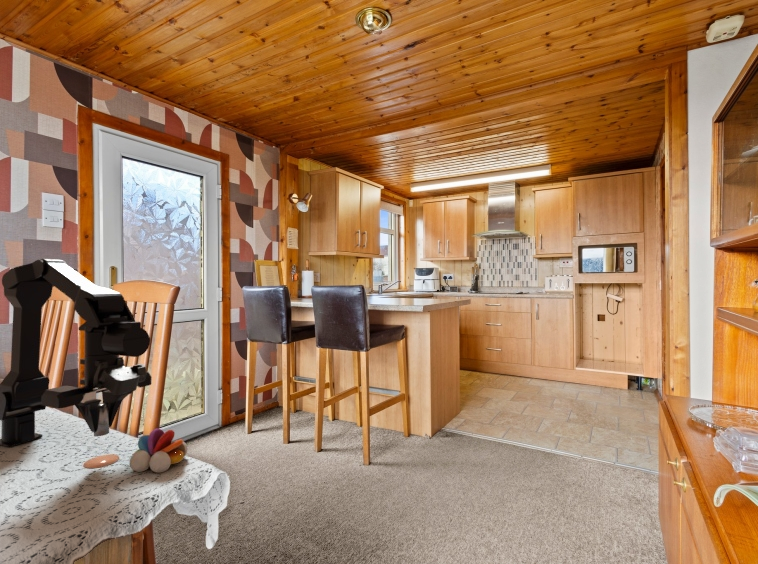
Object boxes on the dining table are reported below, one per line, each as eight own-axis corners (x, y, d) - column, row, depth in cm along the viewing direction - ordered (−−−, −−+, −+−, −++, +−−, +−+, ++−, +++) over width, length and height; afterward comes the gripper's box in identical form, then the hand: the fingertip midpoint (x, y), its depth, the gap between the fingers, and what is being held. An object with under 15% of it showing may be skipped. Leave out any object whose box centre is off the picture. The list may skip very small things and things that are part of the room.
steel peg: (90, 436, 80) (89, 406, 80) (100, 431, 83) (99, 402, 83) (103, 436, 80) (102, 406, 80) (112, 431, 82) (111, 402, 82)
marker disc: (76, 465, 79) (76, 464, 79) (106, 453, 85) (106, 452, 85) (96, 470, 77) (96, 469, 77) (125, 457, 83) (125, 457, 83)
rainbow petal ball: (169, 476, 75) (169, 438, 75) (121, 474, 76) (121, 436, 76) (193, 457, 84) (194, 422, 84) (150, 455, 84) (150, 421, 84)
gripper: (79, 365, 70) (78, 454, 70) (169, 348, 87) (169, 419, 87) (39, 360, 74) (39, 444, 74) (134, 345, 91) (133, 413, 91)
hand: (101, 429), depth 81 cm, fingers closed on steel peg, 3 cm apart
